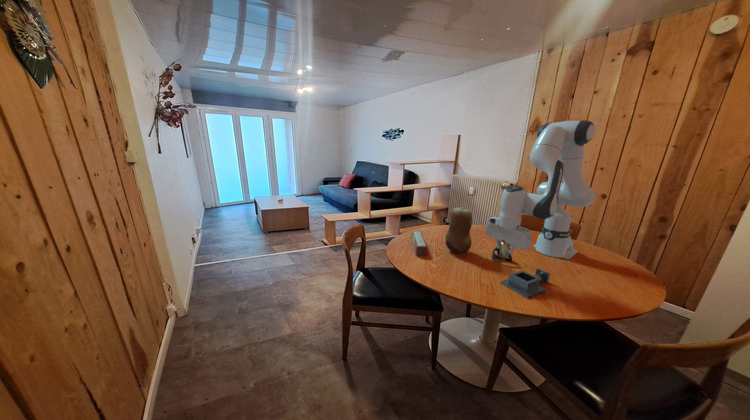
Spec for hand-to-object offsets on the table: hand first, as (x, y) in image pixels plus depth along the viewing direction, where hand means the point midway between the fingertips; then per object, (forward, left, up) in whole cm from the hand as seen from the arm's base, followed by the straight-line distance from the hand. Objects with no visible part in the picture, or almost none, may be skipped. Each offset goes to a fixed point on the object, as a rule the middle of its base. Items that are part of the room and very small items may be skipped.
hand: (504, 250), depth 113 cm
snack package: (+20, -38, -11) cm, 44 cm away
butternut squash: (+4, -25, -11) cm, 27 cm away
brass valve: (0, 0, -3) cm, 3 cm away
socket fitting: (0, +13, -10) cm, 17 cm away
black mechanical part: (-11, -9, -11) cm, 18 cm away
